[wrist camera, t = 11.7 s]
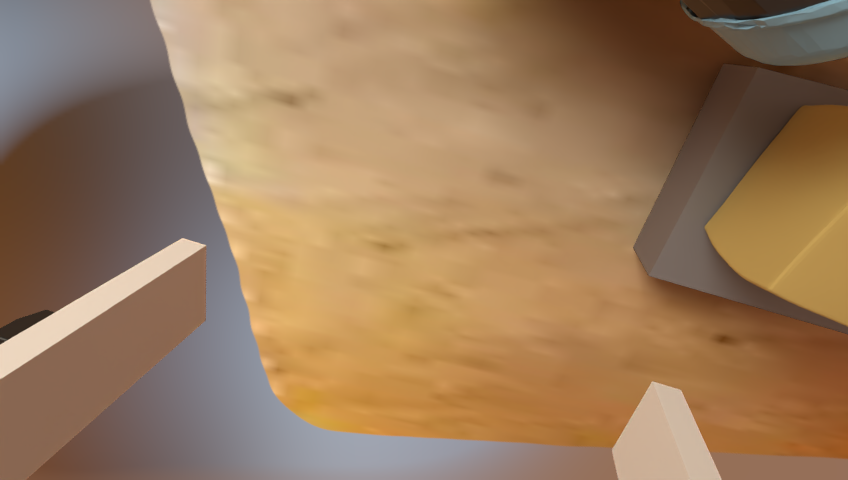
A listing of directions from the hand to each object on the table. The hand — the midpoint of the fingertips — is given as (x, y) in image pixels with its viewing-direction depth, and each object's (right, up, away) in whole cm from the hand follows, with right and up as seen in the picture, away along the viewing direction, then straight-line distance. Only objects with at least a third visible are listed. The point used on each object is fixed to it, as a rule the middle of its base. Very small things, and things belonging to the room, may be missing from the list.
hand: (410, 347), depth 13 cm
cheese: (+27, +6, +19) cm, 34 cm away
